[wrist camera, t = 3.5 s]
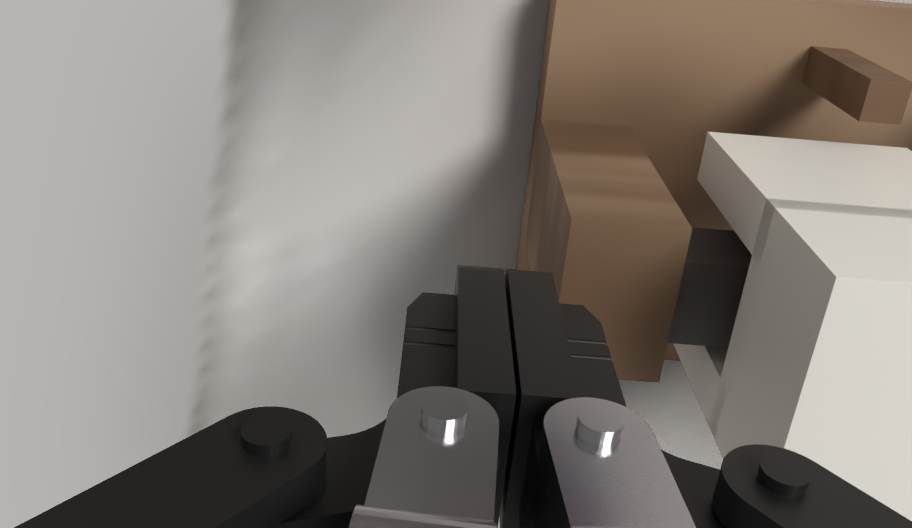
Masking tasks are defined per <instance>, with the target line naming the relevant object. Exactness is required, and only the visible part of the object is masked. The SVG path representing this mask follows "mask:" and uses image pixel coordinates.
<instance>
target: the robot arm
mask: <svg viewBox="0 0 912 528" xmlns="http://www.w3.org/2000/svg"><path fill="white" fill-rule="evenodd" d="M606 343H607V341H606V338H605V334H604V331H603V327H602V324H601V322H600V321H599V320H598V319H597V318H596V317H595V316H594V315H593V314H592V313H591V312H590V311H588V310H587V309H586V308H585V307H584V306H583V305H574V304H562V303H559V301H558V296H557V292H556V287H555V282H554V278H553V274H552V273H551V272H538V271H526V270H514V269H506V271H505V275H504V271H503V269H500V268H487V267H475V266H462V265H458V267H457V274H456V284H455V294H454V295H447V294H435V293H422V294H421V295H420V296H419V297H418V298H417V299H416V300H415V301H414V302H413V303H412V304H411V305H410V306H409V307H408V308H407V316H406V325H405V334H404V343H403V351H402V360H401V369H400V377H399V386H398V395H397V399H396V400H395V401H394V402H393V403H392V405H391V406H390V409H389V411H388V415H387V418H386V419H385V420H384V421H383V422H381V423H380V424H378V425H376V426H375V427H372V428H370V429H368V430H365V431H362V432H359V433H355V434H350V435H345V436H338V437H331V438H327V436H326V432H325V431H324V429H323V427H322V426H321V425H320V424H319V422H318V421H316V420H315V419H314V418H312V417H311V416H309V415H307V414H305V413H303V412H300V411H297V410H294V409H289V408H283V407H258V408H252V409H247V410H243V411H240V412H237V413H235V414H233V415H230V416H228V417H226V418H224V419H222V420H220V421H218V422H216V423H215V424H213V425H211V426H209V427H207V428H205V429H203V430H201V431H199V432H197V433H195V434H193V435H191V436H190V437H188V438H186V439H184V440H182V441H180V442H178V443H176V444H174V445H172V446H170V447H169V448H167V449H165V450H163V451H161V452H159V453H157V454H155V455H153V456H151V457H149V458H147V459H145V460H143V461H142V462H140V463H138V464H136V465H134V466H132V467H130V468H128V469H126V470H124V471H122V472H120V473H118V474H117V475H115V476H113V477H111V478H109V479H107V480H105V481H103V482H101V483H100V484H97V485H95V486H93V487H92V488H90V489H88V490H86V491H84V492H82V493H80V494H78V495H76V496H74V497H72V498H71V499H68V500H67V501H65V502H63V503H61V504H59V505H57V506H55V507H53V508H51V509H49V510H48V511H46V512H43V513H42V514H40V515H38V516H36V517H34V518H32V519H30V520H28V521H26V522H24V523H22V524H20V525H18V526H16V527H15V528H498V521H499V516H500V528H912V521H910V520H909V519H907V518H906V517H904V516H902V515H901V514H899V513H897V512H896V511H894V510H892V509H891V508H889V507H888V506H886V505H884V504H883V503H881V502H879V501H878V500H876V499H875V498H873V497H871V496H870V495H868V494H866V493H865V492H863V491H861V490H860V489H858V488H857V487H855V486H853V485H852V484H850V483H848V482H847V481H845V480H843V479H842V478H840V477H839V476H837V475H835V474H834V473H832V472H830V471H829V470H827V469H826V468H824V467H822V466H821V465H819V464H817V463H816V462H814V461H812V460H810V459H809V458H807V457H805V456H803V455H801V454H798V453H796V452H793V451H790V450H788V449H784V448H780V447H776V446H770V445H759V444H754V445H745V446H740V447H738V448H735V449H733V450H732V451H730V452H729V453H728V454H727V455H726V456H725V457H724V459H723V462H722V465H721V469H720V470H719V469H716V468H712V467H709V466H705V465H702V464H698V463H695V462H691V461H688V460H684V459H681V458H678V457H676V456H673V455H671V454H669V453H666V452H664V451H663V450H661V448H660V446H659V444H658V442H657V440H656V437H655V435H654V433H653V431H652V429H651V427H650V426H649V424H648V423H647V422H646V421H645V420H644V419H643V418H642V417H641V416H640V415H638V414H637V413H635V412H634V411H632V410H631V409H629V408H627V407H626V404H625V401H624V398H623V394H622V391H621V388H620V384H619V381H618V378H617V374H616V371H615V368H614V364H613V361H611V354H610V351H609V348H608V345H606Z"/></svg>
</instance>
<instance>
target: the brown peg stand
mask: <svg viewBox="0 0 912 528" xmlns="http://www.w3.org/2000/svg"><path fill="white" fill-rule="evenodd" d="M707 132H718V133H731V134H743V135H755V136H767V137H779V138H792V139H804V140H816V141H828V142H841V143H853V144H865V145H877V146H889V147H902V148H908V149H909V150H911V151H912V4H904V3H892V2H881V1H869V0H550V4H549V12H548V20H547V28H546V36H545V44H544V52H543V59H542V67H541V75H540V83H539V91H538V99H537V107H536V115H535V123H534V131H533V139H532V147H531V155H530V163H529V171H528V179H527V187H526V195H525V203H524V211H523V219H522V226H521V234H520V242H519V250H518V258H517V266H516V270H526V271H538V272H551V273H552V274H553V278H554V282H555V287H556V292H557V296H558V301H559V303H562V304H574V305H583V306H584V307H585V308H586V309H587V310H588V311H590V312H591V313H592V314H593V315H594V316H595V317H596V318H597V319H598V320H599V321H600V322H601V324H602V327H603V331H604V334H605V338H606V341H607V343H606V345H608V348H609V351H610V354H611V361H613V364H614V368H615V371H616V374H617V378H618V379H622V380H636V381H650V382H659V379H660V374H661V369H662V365H663V360H664V359H665V360H678V361H681V360H680V358H679V356H678V353H677V351H676V349H675V346H674V344H686V345H699V346H713V347H727V348H728V347H729V343H730V339H731V335H732V331H733V327H734V323H735V320H736V316H737V312H738V308H739V304H740V300H741V296H742V292H743V288H744V285H745V281H746V277H747V273H748V269H749V265H750V261H751V257H752V254H751V253H750V252H749V250H748V249H747V247H746V246H745V245H744V243H743V242H742V241H741V239H740V238H739V236H738V235H737V234H736V232H735V231H734V230H733V228H732V227H731V225H730V224H729V223H728V221H727V220H726V219H725V217H724V216H723V214H722V213H721V212H720V210H719V209H718V207H717V206H716V205H715V203H714V202H713V201H712V199H711V198H710V196H709V195H708V194H707V192H706V191H705V190H704V188H703V187H702V185H701V184H700V183H699V181H698V180H697V178H698V173H699V169H700V164H701V159H702V155H703V150H704V146H705V141H706V136H707Z"/></svg>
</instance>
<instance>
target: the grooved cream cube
mask: <svg viewBox="0 0 912 528" xmlns="http://www.w3.org/2000/svg"><path fill="white" fill-rule="evenodd" d="M697 180H698V181H699V183H700V184H701V185H702V187H703V188H704V190H705V191H706V192H707V194H708V195H709V196H710V198H711V199H712V201H713V202H714V203H715V205H716V206H717V207H718V209H719V210H720V212H721V213H722V214H723V216H724V217H725V219H726V220H727V221H728V223H729V224H730V225H731V227H732V228H733V230H734V231H735V232H736V234H737V235H738V236H739V238H740V239H741V241H742V242H743V243H744V245H745V246H746V247H747V249H748V250H749V252H750V253H751V254H752V257H751V261H750V265H749V269H748V273H747V277H746V281H745V285H744V288H743V292H742V296H741V300H740V304H739V308H738V312H737V316H736V320H735V323H734V327H733V331H732V335H731V339H730V343H729V347H728V348H727V347H713V346H699V345H686V344H674V346H675V349H676V351H677V353H678V356H679V358H680V360H681V362H682V365H683V367H684V369H685V372H686V374H687V376H688V379H689V381H690V383H691V385H692V388H693V390H694V392H695V395H696V397H697V399H698V402H699V404H700V406H701V409H702V411H703V413H704V415H705V418H706V420H707V422H708V425H709V427H710V429H711V432H712V434H713V436H714V438H715V441H716V443H717V445H718V448H719V450H720V452H721V455H722V457H723V459H724V457H725V456H726V455H727V454H728V453H729V452H730V451H732V450H733V449H735V448H738V447H740V446H745V445H754V444H759V445H770V446H776V447H780V448H784V449H788V450H790V451H793V452H796V453H798V454H801V455H803V456H805V457H807V458H809V459H810V460H812V461H814V462H816V463H817V464H819V465H821V466H822V467H824V468H826V469H827V470H829V471H830V472H832V473H834V474H835V475H837V476H839V477H840V478H842V479H843V480H845V481H847V482H848V483H850V484H852V485H853V486H855V487H857V488H858V489H860V490H861V491H863V492H865V493H866V494H868V495H870V496H871V497H873V498H875V499H876V500H878V501H879V502H881V503H883V504H884V505H886V506H888V507H889V508H891V509H892V510H894V511H896V512H897V513H899V514H901V515H902V516H904V517H906V518H907V519H909V520H910V521H912V151H911V150H909V149H908V148H902V147H889V146H877V145H865V144H853V143H841V142H828V141H816V140H804V139H792V138H779V137H767V136H755V135H743V134H731V133H718V132H707V136H706V141H705V146H704V150H703V155H702V159H701V164H700V169H699V173H698V178H697Z"/></svg>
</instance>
